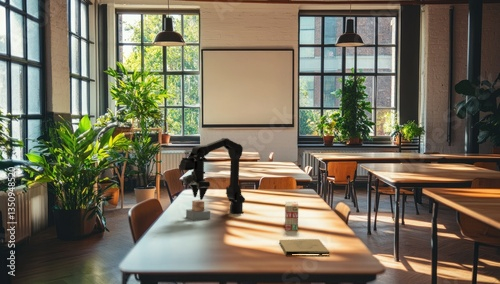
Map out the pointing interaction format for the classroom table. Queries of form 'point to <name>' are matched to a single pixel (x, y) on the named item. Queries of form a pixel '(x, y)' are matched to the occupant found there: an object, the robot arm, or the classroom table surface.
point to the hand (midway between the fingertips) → (198, 198)
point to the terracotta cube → (198, 205)
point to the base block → (198, 214)
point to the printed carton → (291, 216)
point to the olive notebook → (303, 246)
